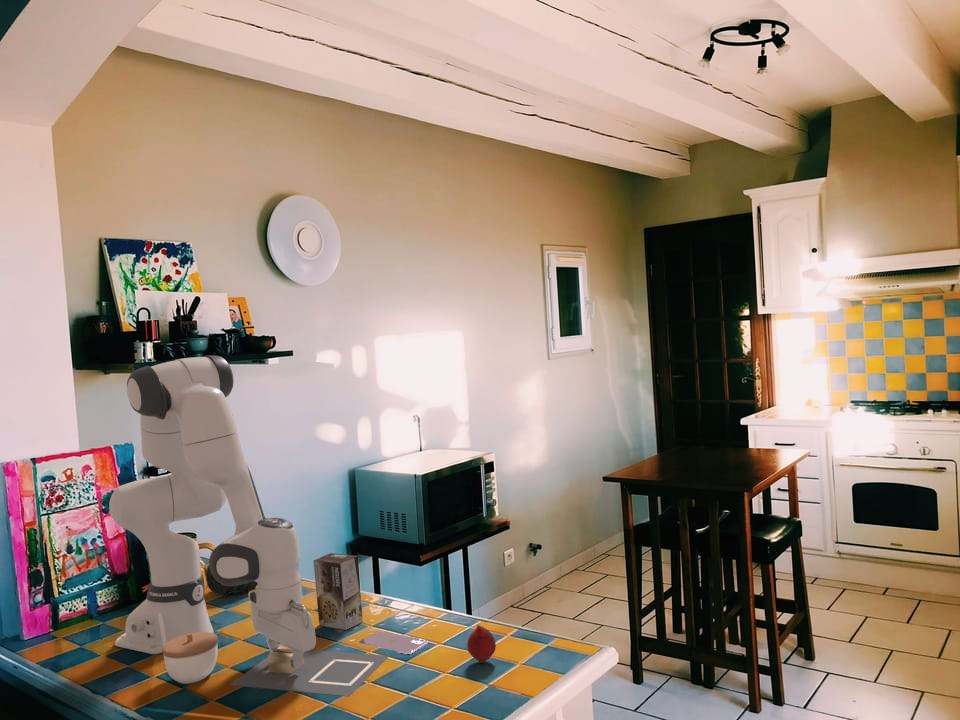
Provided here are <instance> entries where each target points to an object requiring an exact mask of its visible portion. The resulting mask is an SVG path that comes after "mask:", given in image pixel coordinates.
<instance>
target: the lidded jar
mask: <svg viewBox="0 0 960 720" xmlns="http://www.w3.org/2000/svg"><path fill="white" fill-rule="evenodd" d="M218 642H219V641H218V635H217V634H216V633H214V632H213V633H210V632H195V633H189V634H185V635H182V636H179V637H176V638H174V639H172V640H170V641H168V642H167V643H165V644H164V646H163V648H162V651H163V652H162V654H163V661H164V666H165V669H166V672H167V674H168V676H169V677H171V679H172V680H174V681H175V682H177V683H179V684H183V685H185V684H186V685H187V684H193V683H197V682H200V681H202V680H204V679H206V678H207V677H208V676H209V675H210V674H211V672H212V671H214V669H215V667H216V664H217V660H218V651H219V650H218V649H219V648H218Z"/></svg>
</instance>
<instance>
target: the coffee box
mask: <svg viewBox="0 0 960 720" xmlns="http://www.w3.org/2000/svg"><path fill="white" fill-rule="evenodd" d="M313 570H314V582H315V592H316V603H317V612H318V624H319V626H320V625H321V627H326V628H332V629H337V630H344V631H348V630H350V629H351V627H352V628H353V627H356V626H357V625H359V624H361V623H363V622H364V619H363V608H362V598H361V597H362V595H361V583H360V582H361V581H360V571H359V570H360V569H359V556H358V555H352V554H343V553H333V552H330V553H327V554H325V555H322V556H320V557H319V558H316V559H314V560H313ZM349 628H350V629H349ZM347 629H348V630H347Z"/></svg>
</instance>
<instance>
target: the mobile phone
mask: <svg viewBox="0 0 960 720" xmlns="http://www.w3.org/2000/svg"><path fill="white" fill-rule="evenodd" d="M428 643H429V641H428V639H423V638H419V637H413V636H409V635H407V636H406V635H402V634H396V633H391V632H385V631H375V632H373V633H371V634H369V635H368V636H366V637H364V638H363V639H361V640H359V641H358V643H357V644H359V645H364V646H369V647H370V646H371V647H374V648H379V649H386V650H390V651H395V652H396V653H395V654H400V653H403V654H402V655H405V654H410V655H413V654H415V653H416V652H417V650H418V649H419V650H420V649H422V648H424V647H425V646H427V645H428ZM419 650H418V651H419ZM415 651H416V652H415ZM414 652H415V653H414ZM412 653H413V654H412Z"/></svg>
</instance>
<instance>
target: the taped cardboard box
mask: <svg viewBox="0 0 960 720" xmlns="http://www.w3.org/2000/svg"><path fill="white" fill-rule="evenodd" d="M293 655H294V653H292V649H291V648H289V647H287V646H285V645H280V646H279V647H278V648H276V649H275V650H273V652H271V653H270V652H269V654H267V657H268V663H269V672H279V673H291V674H292V673H294V672H295V671H296V670H297V669H295V668H293V667H291V659H293ZM303 664H304V659H303V657H302V665H303Z"/></svg>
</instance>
